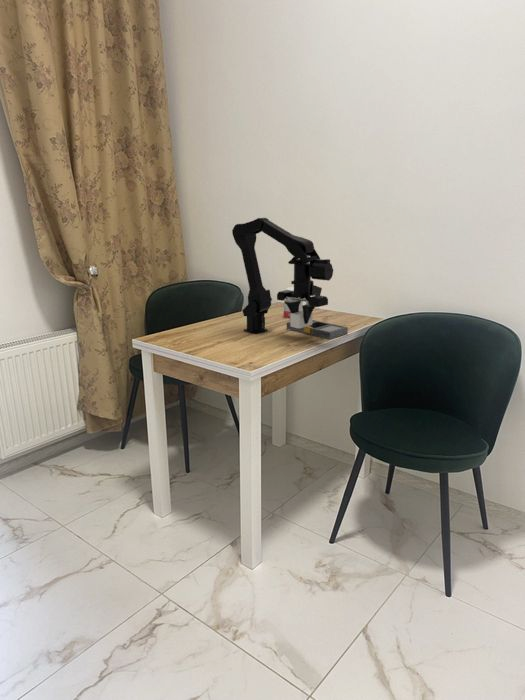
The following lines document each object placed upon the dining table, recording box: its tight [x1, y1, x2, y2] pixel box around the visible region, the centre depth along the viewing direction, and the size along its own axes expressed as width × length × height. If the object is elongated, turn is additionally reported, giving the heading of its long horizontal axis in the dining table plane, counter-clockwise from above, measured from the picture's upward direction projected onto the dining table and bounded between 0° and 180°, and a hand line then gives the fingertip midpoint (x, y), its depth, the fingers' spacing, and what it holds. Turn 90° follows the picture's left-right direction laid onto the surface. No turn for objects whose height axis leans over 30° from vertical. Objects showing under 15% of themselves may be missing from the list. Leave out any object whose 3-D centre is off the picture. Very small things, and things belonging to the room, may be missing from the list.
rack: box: [286, 319, 349, 340], centre depth 183 cm, size 11×20×3 cm, turn 45°
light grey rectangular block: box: [289, 310, 314, 328], centre depth 172 cm, size 7×4×4 cm, turn 134°
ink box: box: [283, 286, 304, 319], centre depth 207 cm, size 9×5×12 cm, turn 149°
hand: (301, 322), depth 172 cm, fingers closed on light grey rectangular block, 4 cm apart
